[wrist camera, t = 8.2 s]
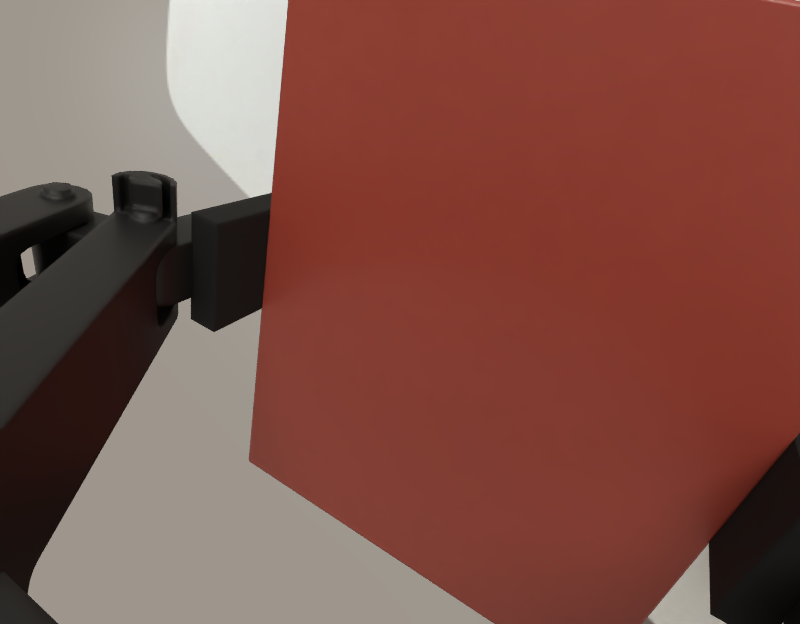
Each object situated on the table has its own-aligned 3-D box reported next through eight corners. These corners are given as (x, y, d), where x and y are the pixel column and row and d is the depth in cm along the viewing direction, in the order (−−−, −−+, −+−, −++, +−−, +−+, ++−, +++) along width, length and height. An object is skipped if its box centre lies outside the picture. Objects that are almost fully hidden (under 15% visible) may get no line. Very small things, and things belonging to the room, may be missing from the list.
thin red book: (355, -64, 11) (294, -91, 9) (1018, 64, 7) (1116, 56, 5) (289, 427, 17) (247, 461, 16) (602, 619, 14) (590, 688, 12)
